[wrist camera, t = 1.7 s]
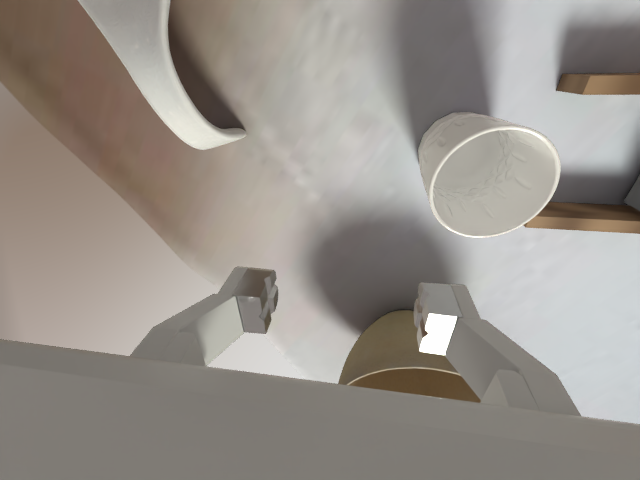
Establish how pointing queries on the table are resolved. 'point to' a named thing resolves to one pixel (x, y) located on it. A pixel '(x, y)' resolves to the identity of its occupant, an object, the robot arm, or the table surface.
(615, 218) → the brown wooden frame
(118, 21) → the spoon rest
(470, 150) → the white cup
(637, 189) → the pusher
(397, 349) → the flower pot
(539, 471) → the robot arm
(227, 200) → the table surface
